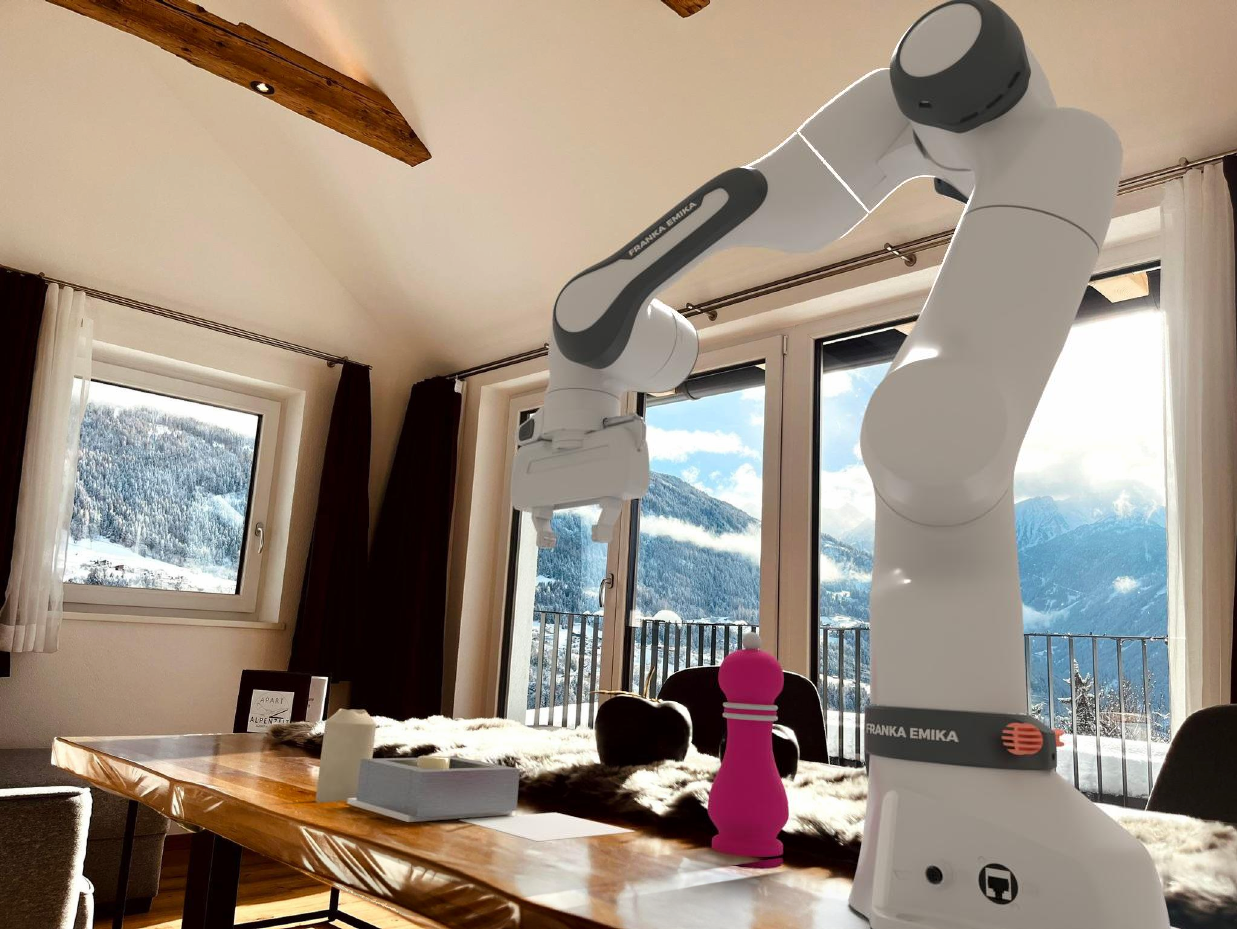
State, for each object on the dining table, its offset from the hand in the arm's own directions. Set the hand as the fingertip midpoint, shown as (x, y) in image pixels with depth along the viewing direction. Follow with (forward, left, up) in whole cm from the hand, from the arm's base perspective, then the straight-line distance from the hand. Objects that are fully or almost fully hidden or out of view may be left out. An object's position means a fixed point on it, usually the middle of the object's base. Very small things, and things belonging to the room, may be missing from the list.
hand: (572, 545), depth 99 cm
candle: (+21, +13, -29) cm, 38 cm away
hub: (+8, +10, -29) cm, 32 cm away
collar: (+7, +10, -28) cm, 30 cm away
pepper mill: (-22, -4, -29) cm, 37 cm away
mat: (-5, +5, -29) cm, 30 cm away
